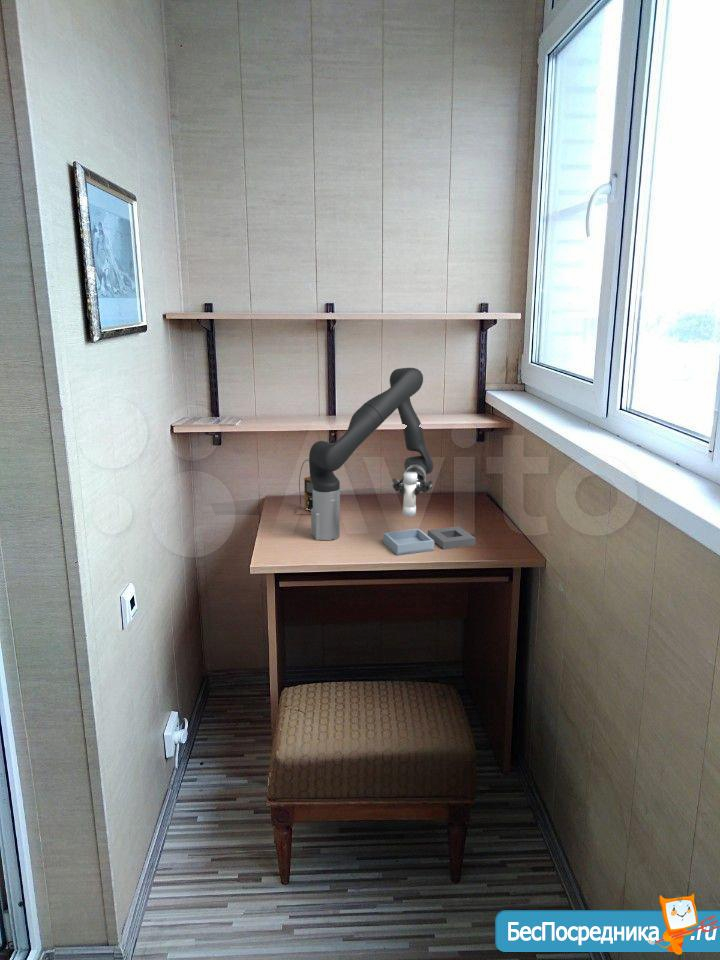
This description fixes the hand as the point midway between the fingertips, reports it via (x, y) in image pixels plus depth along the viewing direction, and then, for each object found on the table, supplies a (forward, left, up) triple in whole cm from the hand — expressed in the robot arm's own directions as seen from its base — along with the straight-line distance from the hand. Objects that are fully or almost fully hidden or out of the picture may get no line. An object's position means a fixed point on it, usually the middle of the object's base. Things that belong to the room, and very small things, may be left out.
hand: (409, 492), depth 217 cm
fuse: (+1, +2, -8) cm, 9 cm away
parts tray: (+1, +2, -20) cm, 20 cm away
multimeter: (-22, +45, -20) cm, 54 cm away
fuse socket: (+17, +2, -20) cm, 27 cm away
